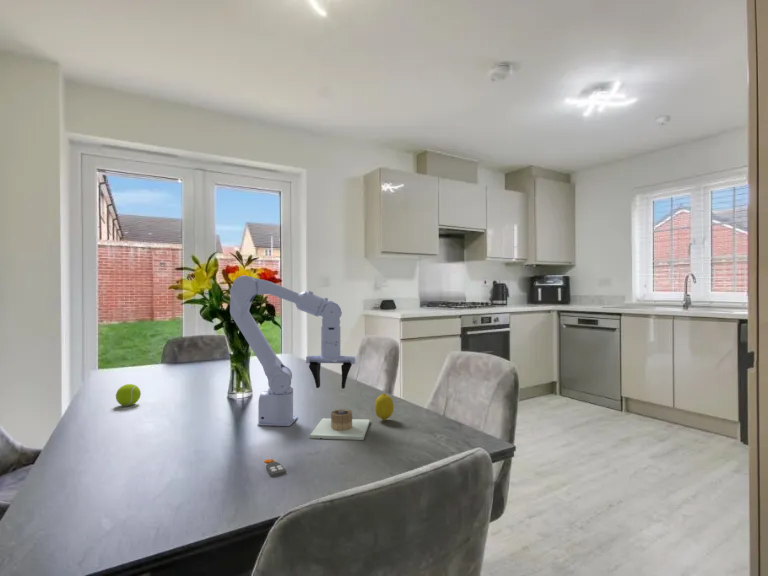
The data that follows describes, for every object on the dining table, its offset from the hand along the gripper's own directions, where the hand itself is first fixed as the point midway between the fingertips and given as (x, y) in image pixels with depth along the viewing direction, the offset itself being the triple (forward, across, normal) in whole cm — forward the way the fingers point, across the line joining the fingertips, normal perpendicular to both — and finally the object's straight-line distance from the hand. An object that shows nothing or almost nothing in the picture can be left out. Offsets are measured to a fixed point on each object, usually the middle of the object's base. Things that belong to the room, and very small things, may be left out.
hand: (330, 387), depth 124 cm
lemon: (+10, +16, 0) cm, 19 cm away
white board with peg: (+9, +5, -9) cm, 14 cm away
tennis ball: (+10, -70, +8) cm, 71 cm away
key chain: (+10, -6, -32) cm, 34 cm away
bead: (+9, +5, -9) cm, 13 cm away
